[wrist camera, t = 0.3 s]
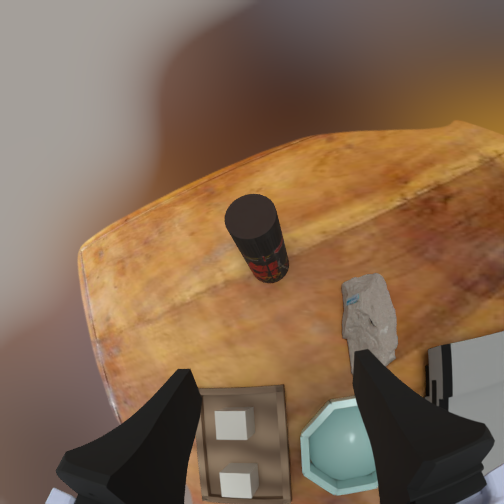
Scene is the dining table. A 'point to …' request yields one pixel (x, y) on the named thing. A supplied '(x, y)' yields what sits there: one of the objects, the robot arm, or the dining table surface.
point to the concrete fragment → (369, 318)
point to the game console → (471, 385)
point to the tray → (246, 444)
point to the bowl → (338, 449)
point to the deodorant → (258, 236)
